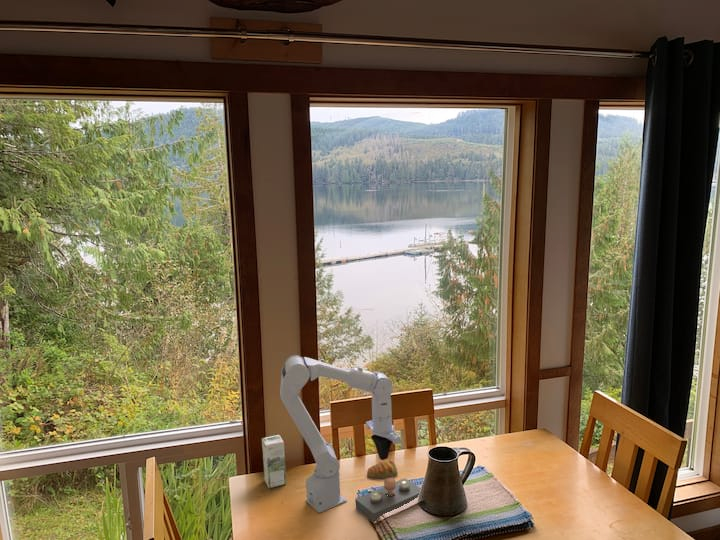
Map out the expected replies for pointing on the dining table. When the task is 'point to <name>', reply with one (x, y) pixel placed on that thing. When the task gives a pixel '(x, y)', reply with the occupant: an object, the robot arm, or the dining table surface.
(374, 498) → the near knob
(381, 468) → the pastry
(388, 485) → the middle knob
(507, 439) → the dining table surface
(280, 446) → the syrup box
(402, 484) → the far knob
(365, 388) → the robot arm
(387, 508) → the knob panel
